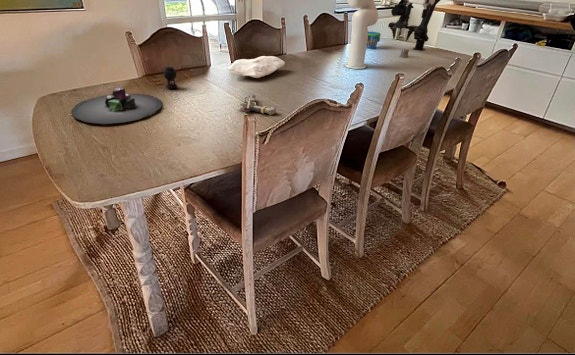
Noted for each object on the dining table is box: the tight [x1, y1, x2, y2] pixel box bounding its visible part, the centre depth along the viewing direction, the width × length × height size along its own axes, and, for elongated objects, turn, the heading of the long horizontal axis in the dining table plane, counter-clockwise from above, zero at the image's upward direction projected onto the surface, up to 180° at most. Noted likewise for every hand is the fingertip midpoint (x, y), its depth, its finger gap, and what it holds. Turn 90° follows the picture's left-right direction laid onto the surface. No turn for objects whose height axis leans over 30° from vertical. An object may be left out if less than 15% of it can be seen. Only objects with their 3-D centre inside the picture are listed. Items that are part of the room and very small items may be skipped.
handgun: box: [239, 93, 277, 116], centre depth 158 cm, size 3×18×15 cm
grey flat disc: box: [70, 86, 163, 125], centre depth 150 cm, size 35×35×9 cm
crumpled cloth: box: [227, 55, 286, 79], centre depth 196 cm, size 24×35×9 cm
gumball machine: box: [161, 66, 179, 90], centre depth 173 cm, size 7×6×10 cm
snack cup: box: [366, 31, 381, 49], centre depth 259 cm, size 16×10×10 cm
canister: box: [400, 48, 410, 58], centre depth 243 cm, size 5×5×5 cm
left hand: (415, 16), depth 184 cm, fingers open, 9 cm apart
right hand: (400, 39), depth 251 cm, fingers open, 9 cm apart
